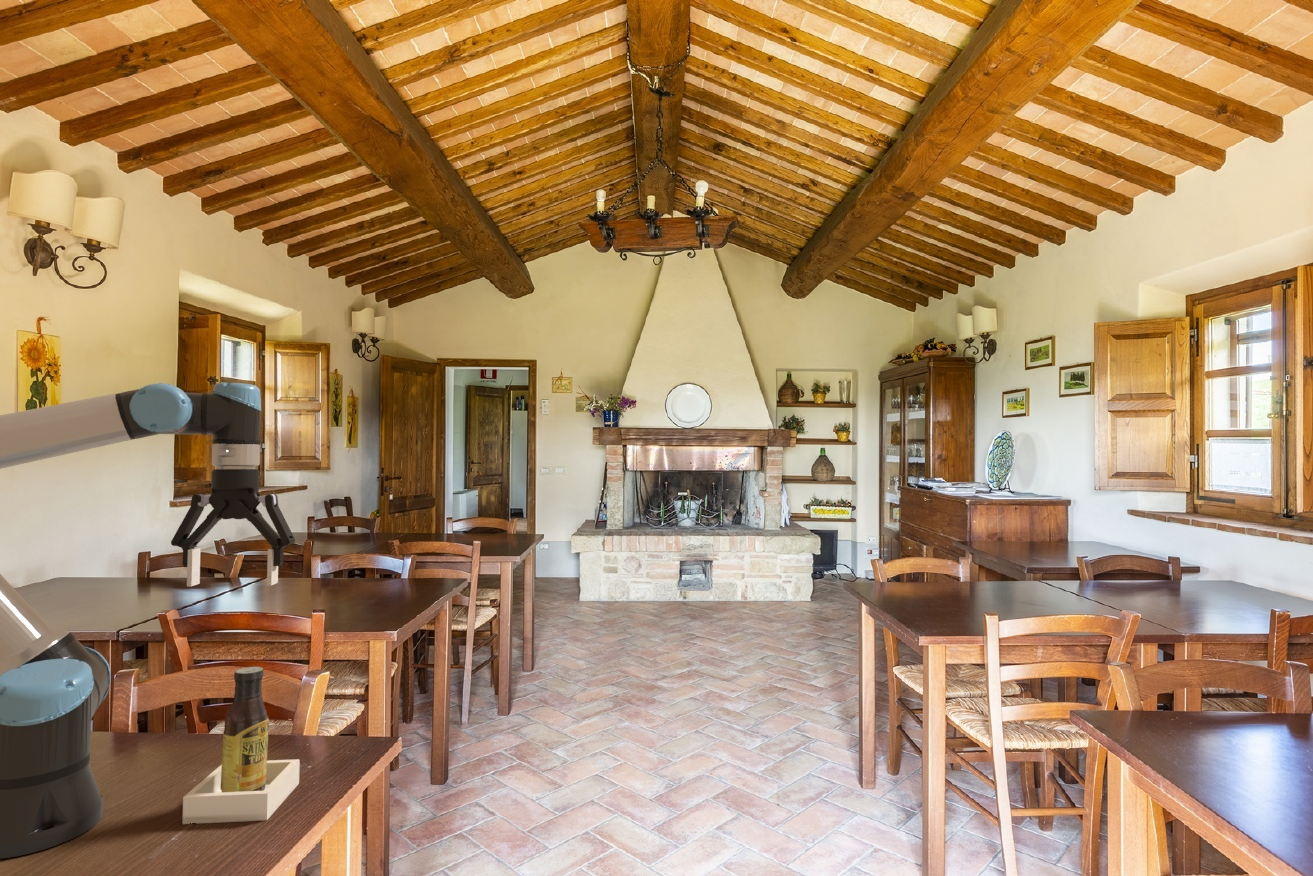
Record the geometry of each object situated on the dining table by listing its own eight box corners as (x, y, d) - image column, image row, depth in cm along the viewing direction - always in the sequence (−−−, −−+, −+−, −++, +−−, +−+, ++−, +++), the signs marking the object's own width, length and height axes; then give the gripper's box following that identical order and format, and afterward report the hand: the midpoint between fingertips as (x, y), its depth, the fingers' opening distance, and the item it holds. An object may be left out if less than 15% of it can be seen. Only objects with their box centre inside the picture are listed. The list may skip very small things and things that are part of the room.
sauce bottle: (244, 808, 106) (247, 678, 107) (210, 804, 108) (213, 675, 108) (276, 788, 113) (279, 665, 113) (243, 784, 114) (246, 663, 115)
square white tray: (182, 824, 104) (183, 797, 104) (223, 786, 116) (224, 762, 116) (267, 820, 105) (267, 793, 105) (299, 783, 117) (299, 759, 117)
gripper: (150, 467, 122) (146, 589, 121) (299, 468, 124) (296, 587, 124) (175, 467, 129) (172, 581, 128) (315, 468, 132) (312, 580, 131)
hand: (233, 584), depth 126 cm, fingers open, 13 cm apart
